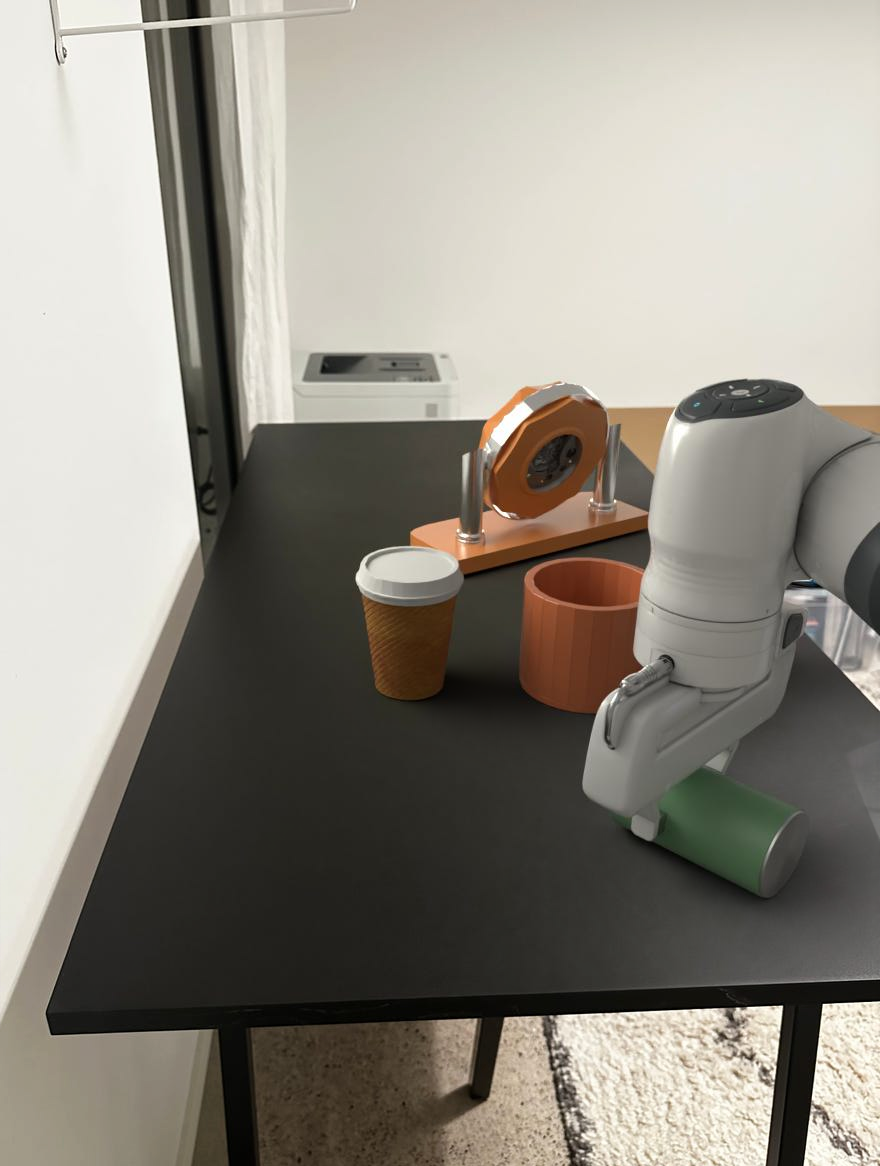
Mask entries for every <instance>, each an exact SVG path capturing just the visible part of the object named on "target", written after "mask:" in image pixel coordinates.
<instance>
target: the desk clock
mask: <svg viewBox="0 0 880 1166" xmlns="http://www.w3.org/2000/svg"><path fill="white" fill-rule="evenodd" d="M622 425H623V424H622V423H615V424H612V425H610V415H609V413H608V410H607V407H606V406H605V405H604V403H602V401H601V400H600V399H599V398H598V397H597V396H596V395H595V394H594V393H593V392H592V391H591V390H590V389H588V388H587V387H586V386H583V385H580V384H577V383H569V382H563V381H560V380H559V381H556V382H552V383H547V384H542V385H541V384H540V385H529V386H528V385H526V386H524V387H522V388H520V389H519V390H518V391H517V392H516V393H515V394H514V396H512V397H511V399H509V400H508V402H506V404H505V405H503V406H502V407H501V408H500V409H499V410H498V411H497V412H496V413H495V414H494V415H492V416H491V417H489V418H488V419H487V420H486V422H485V424H484V426H483V427H482V431H481V437H480V441H479V444H478V445H479V446H478V448H477V449H475V450H472V451H469V452H467V453H464V454H463V455H461V456H460V459H461V460H460V482H459V483H460V485H459V486H460V487H459V489H460V490H459V517H455V518H451V519H446V520H442V521H437V522H433V523H428V524H425V525H421V526H419V527H416V528H414V529H413V530H412V531H410V535H409V537H410V540H409V541H410V543H409V546H419V547H428V548H433V549H437V550H441V551H444V552H446V553H449V554H450V555H452V556H453V557H455V558H456V559H457V561H458V564H459V568H460V571H461V572H462V574H463V576H464V575H467V574H472V573H475V572H479V571H482V570H483V571H484V570H487V569H491V568H495V567H499V566H504V565H506V564H511V563H514V562H519V561H523V560H527V559H531V558H533V557H534V558H535V557H539V556H543V555H547V554H551V553H554V552H558V551H562V550H566V549H570V548H574V547H578V546H583V545H585V544H589V543H594V542H598V541H602V540H605V539H609V538H614V537H617V536H623V535H625V534H629V533H633V532H637V531H638V532H639V531H641V530H645V529H648V517H649V511H646V510H644V509H641V508H638V507H637V506H633V505H631V504H628V503H626V502H623V501H621V500H618V499H616V498H615V497H616V495H615V494H616V486H617V476H618V465H619V455H620V446H621V445H620V444H621V435H622V434H621V433H622ZM593 473H594V478H593V479H594V480H593V491H581V489H582V487H583V485H584V484H585V483H586V482H587V480H588V479H589V478H590V477H591V475H592V474H593ZM484 504H485V505H486V506H487V507H489V508H490V509H491V510H487V511H484Z"/></svg>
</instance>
